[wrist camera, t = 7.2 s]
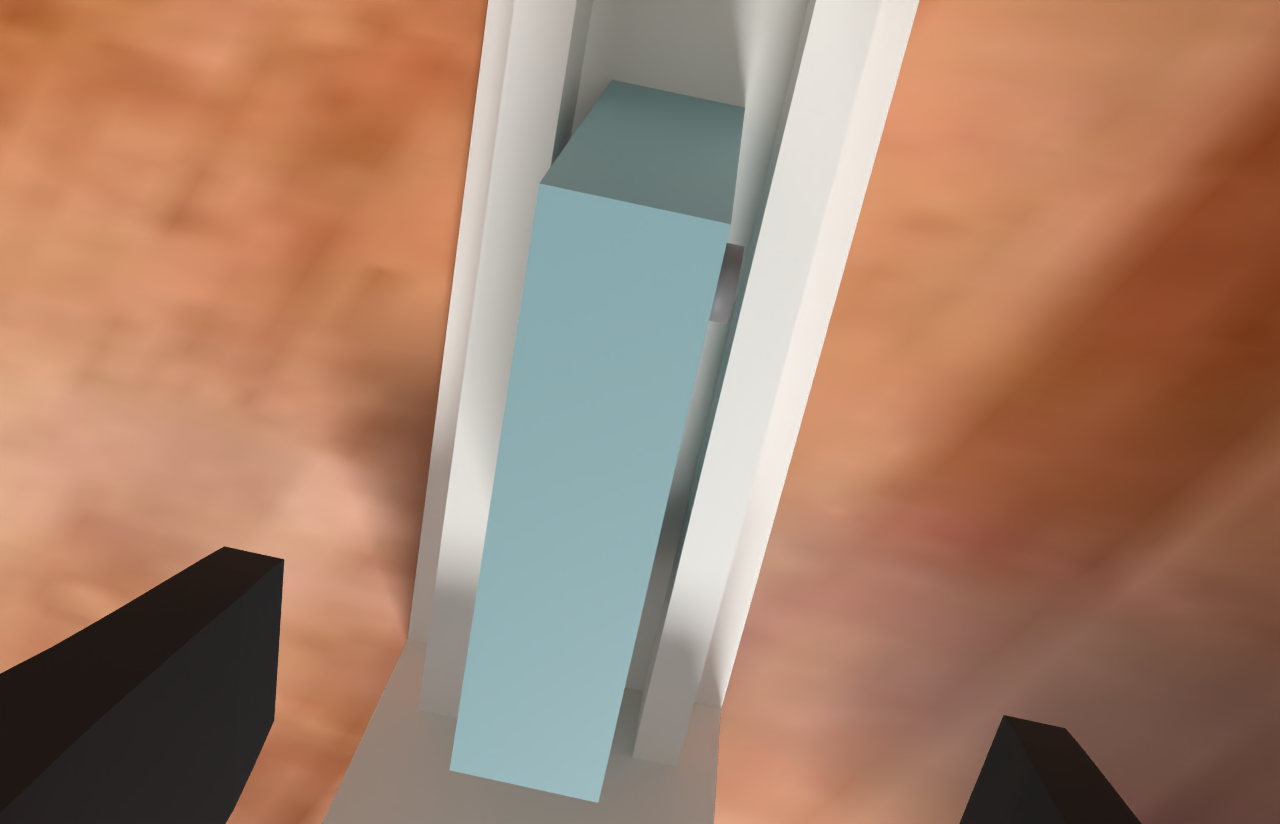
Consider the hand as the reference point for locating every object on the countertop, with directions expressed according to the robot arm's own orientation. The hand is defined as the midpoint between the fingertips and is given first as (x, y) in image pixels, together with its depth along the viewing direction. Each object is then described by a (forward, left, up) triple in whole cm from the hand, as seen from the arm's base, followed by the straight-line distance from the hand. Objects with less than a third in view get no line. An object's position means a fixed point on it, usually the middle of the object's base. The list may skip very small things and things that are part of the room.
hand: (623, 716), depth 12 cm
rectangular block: (0, +1, -9) cm, 9 cm away
